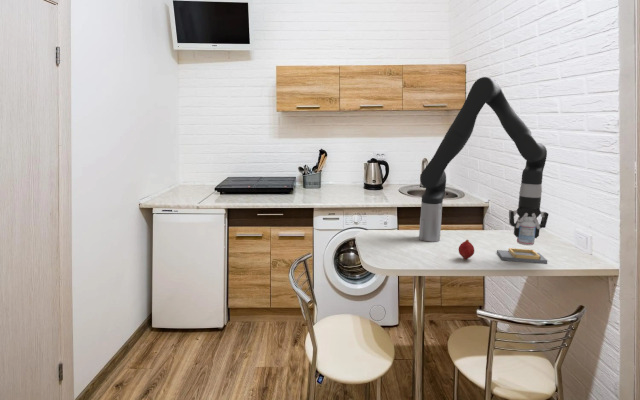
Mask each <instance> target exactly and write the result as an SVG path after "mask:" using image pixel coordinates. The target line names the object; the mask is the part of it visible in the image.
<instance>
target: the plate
mask: <svg viewBox="0 0 640 400" xmlns="http://www.w3.org/2000/svg"><path fill="white" fill-rule="evenodd" d="M496 254H497V256H499V258H500V259H501V260H502V261H509V262H511V261H512V262H524V263H535V264H536V263H537V264H548V259H546V257H544V256H543V255H542V254H541V253H540V252H536V251H535V250H534V249H527V248H526V249H525V248H513V247H512V248H511V247H509V248H508V250H505V249H504V250H503V249H502V250H501V249H496Z"/></svg>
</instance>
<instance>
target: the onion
mask: <svg viewBox="0 0 640 400" xmlns="http://www.w3.org/2000/svg"><path fill="white" fill-rule="evenodd" d="M458 254H459V255H460V257H462V258H463V259H464V260H469V258H471V257H473V255H474V254H475V248H474V245H473V244H472V243H471V242H470V241H469V239H466V240H465V241H463V242H462V243H460V245H459V246H458Z"/></svg>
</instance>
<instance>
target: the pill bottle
mask: <svg viewBox="0 0 640 400" xmlns="http://www.w3.org/2000/svg"><path fill="white" fill-rule="evenodd" d="M535 230H536V224H535V223H534V217H528V216H527V217H525V220H524V221H523V223H521V224H520V226H519V237H516V242H517V244H519V245H522V246H533V245H535V239H536V238H535Z"/></svg>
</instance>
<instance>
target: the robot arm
mask: <svg viewBox="0 0 640 400" xmlns="http://www.w3.org/2000/svg"><path fill="white" fill-rule="evenodd" d="M485 104H486V105H487V106H489V108H490V109H492V111H493V112H494V114H495V115H496V116H497V118H498V119H499V122H500V125H501V127H502V128H503V130H504V131H505V133H506V134H507V135H508V137H509V138H510V139H511V140H512V142H513V143H514V144H515V146H516V148H517V150H518V152H519V154H520V156H521V157H522V158H523V159H524V161H526V163H525V167H524V169H523V170H522V172H521V173H522V174H521V183H520V187H519V192H518V194H519V195H518V205H517V208H516V210H512V209H510V210H509V211H508V219H509V221H508V222H509V225H510V226H511V227H513V235H514V236H515V238H517V237H519V226H520V224H521V223H523V221H524V220H525V217H527V216H528V217H534V223H535V224H536V230H535V239H538V238H539V236H540V230H541V229H544V228H546V226H547V222H548V218H549V213H548V212H547V211H541V203H542V201H541V200H542V193H543V191H542V189H543V186H542V184H543V174H544V173H543V172H544V169H545V165H546V162H547V157H548V154H547V153H548V151H547V150H548V149H547V148H546V146H545V145H544V144H542V143H540V142H537V141H536V140H535V138H534V136H532V132H531V130H530V128H529V127H528V125H527V124H526V123H525V121H523V119H522V118H521V117H520V115H519V114H518V113H517V112H516V110H515V109H514V108H513V107H512V106H511V104H510V102H509V101H508V99H507V97H506V96H505V94H504V92H503V90H502V88H501V86H500V83H499V82H498V81H496V80H495V79H493V78H491V77H488V76H483V77H478V79H476V80H475V82H474V83H473V84H472V86H471V88H470V90H469V92H468V95H467V96H466V98H465V101H464V103H463V105H462V107H461V109H460V110H459V111H458V113H457V114H456V117H455V119H454V120H453V122H452V123H451V125H450V126H449V128H448V129H447V130H446V131H447V132H445V135H444V137H443V139H442V141H441V142H440V143H439V146H438V148H437V149H436V151H435V153H434V155H433V156H432V158H431V160H429V162H428V163H427V165H426V166H425V167H424V168H423V170H422V171H421V174H420V183H421V186H423V187H424V188H425V190H424V193H423V195H422V196H421V204H420V206H421V207H420V217H419V231H418V232H419V233H418V239H419V241H425V242H433V243H434V242H439V241H440V240H441V229H442V228H441V227H442V217H443V216H442V213H443V201H444V198H445V194H446V185H447V174H446V171H445V170H446V168H447V167H448V165H449V164H450V163H451V161H453V159H454V158H455V157H457V156H458V154H459V153H460V152H461V151H462V150H463V148H464V147H465V146H466V144H467V143H468V141H469V140H470V138H471V135H472V134H473V132H474V128H475V125H476V121H477V118H478V115H479V113H480V112H481V110H482V109H483V107H484V106H485ZM516 215H518V218H517V219H516V221H515V216H516ZM539 216H540V217H541V219H540V222H539V220H538V218H539Z"/></svg>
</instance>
